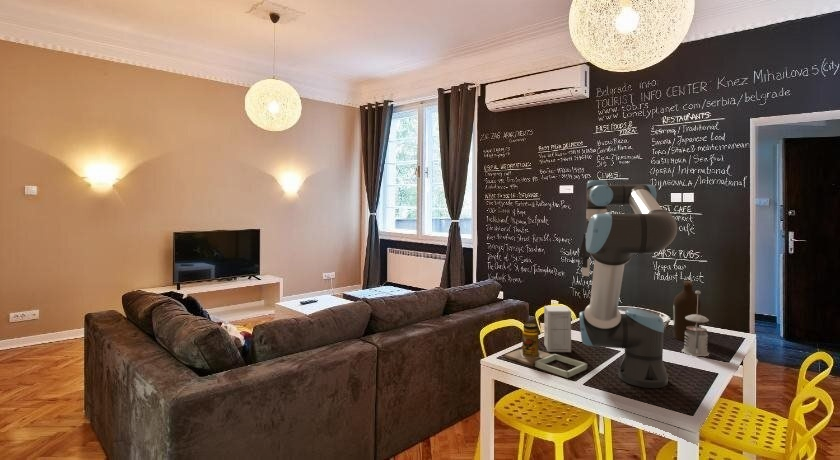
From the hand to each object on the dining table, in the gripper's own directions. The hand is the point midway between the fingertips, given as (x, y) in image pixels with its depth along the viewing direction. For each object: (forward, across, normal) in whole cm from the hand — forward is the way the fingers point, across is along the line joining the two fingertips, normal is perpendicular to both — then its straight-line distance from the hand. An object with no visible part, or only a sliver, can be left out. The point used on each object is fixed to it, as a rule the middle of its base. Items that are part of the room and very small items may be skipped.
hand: (595, 273), depth 181 cm
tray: (+32, +24, +1) cm, 40 cm away
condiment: (+31, +23, -13) cm, 41 cm away
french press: (+32, -29, +27) cm, 51 cm away
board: (+32, +24, -13) cm, 42 cm away
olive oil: (+32, -46, +17) cm, 59 cm away
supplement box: (+32, +7, -12) cm, 35 cm away
